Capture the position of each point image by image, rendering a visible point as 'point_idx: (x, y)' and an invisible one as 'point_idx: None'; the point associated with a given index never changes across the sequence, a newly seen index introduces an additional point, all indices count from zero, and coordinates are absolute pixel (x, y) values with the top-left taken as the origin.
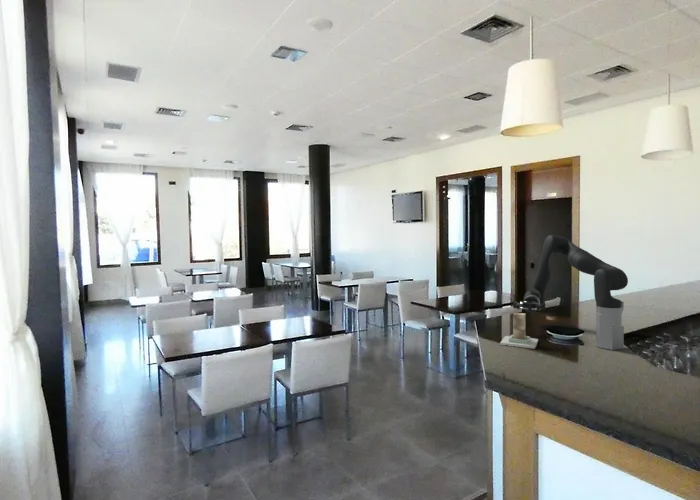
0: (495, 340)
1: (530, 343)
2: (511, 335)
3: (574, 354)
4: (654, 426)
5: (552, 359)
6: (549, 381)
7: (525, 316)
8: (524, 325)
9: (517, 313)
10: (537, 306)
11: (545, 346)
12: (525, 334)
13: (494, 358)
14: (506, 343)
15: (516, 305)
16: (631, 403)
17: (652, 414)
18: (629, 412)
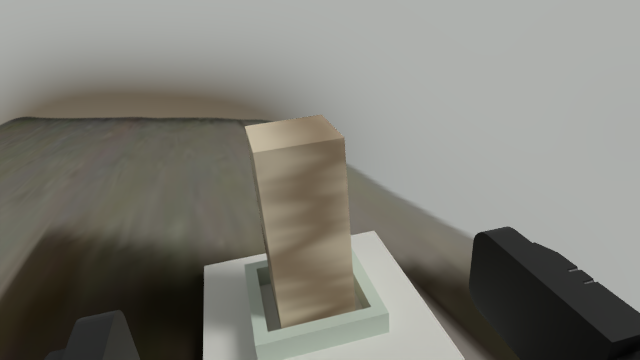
0: (454, 286)
1: (235, 295)
2: (375, 296)
3: (11, 303)
4: (34, 123)
5: (132, 217)
6: (154, 139)
7: (256, 177)
8: (258, 203)
9: (309, 133)
10: (108, 313)
11: (149, 344)
12: (277, 304)
13: None
14: None
15: (538, 246)
16: (27, 142)
17: (15, 136)
18: (48, 129)
